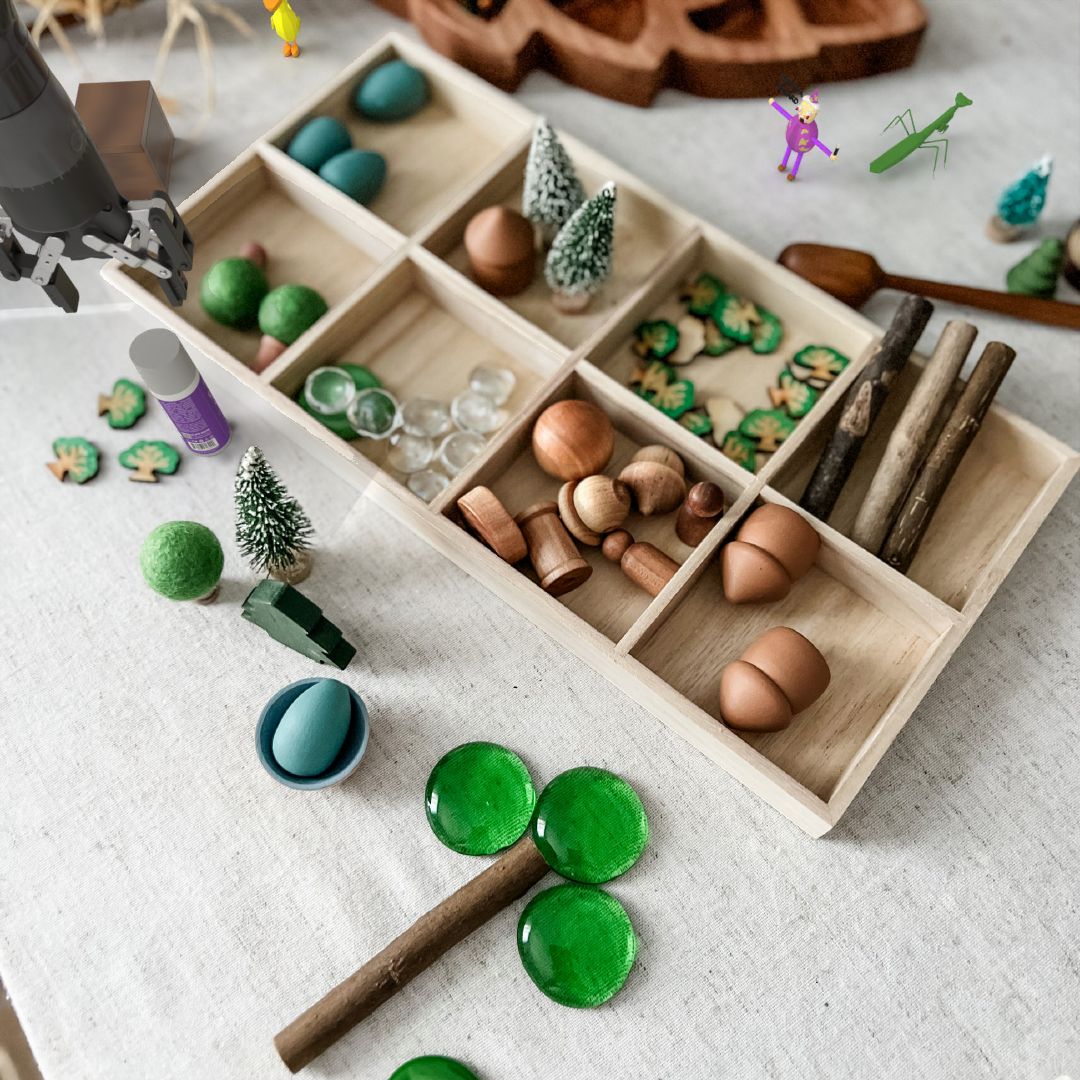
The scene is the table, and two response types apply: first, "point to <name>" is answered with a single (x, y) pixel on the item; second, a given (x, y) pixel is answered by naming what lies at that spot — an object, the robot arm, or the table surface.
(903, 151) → the praying mantis
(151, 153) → the brown wooden cube
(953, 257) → the table surface
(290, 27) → the toy figure
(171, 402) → the container
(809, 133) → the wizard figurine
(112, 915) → the table surface
